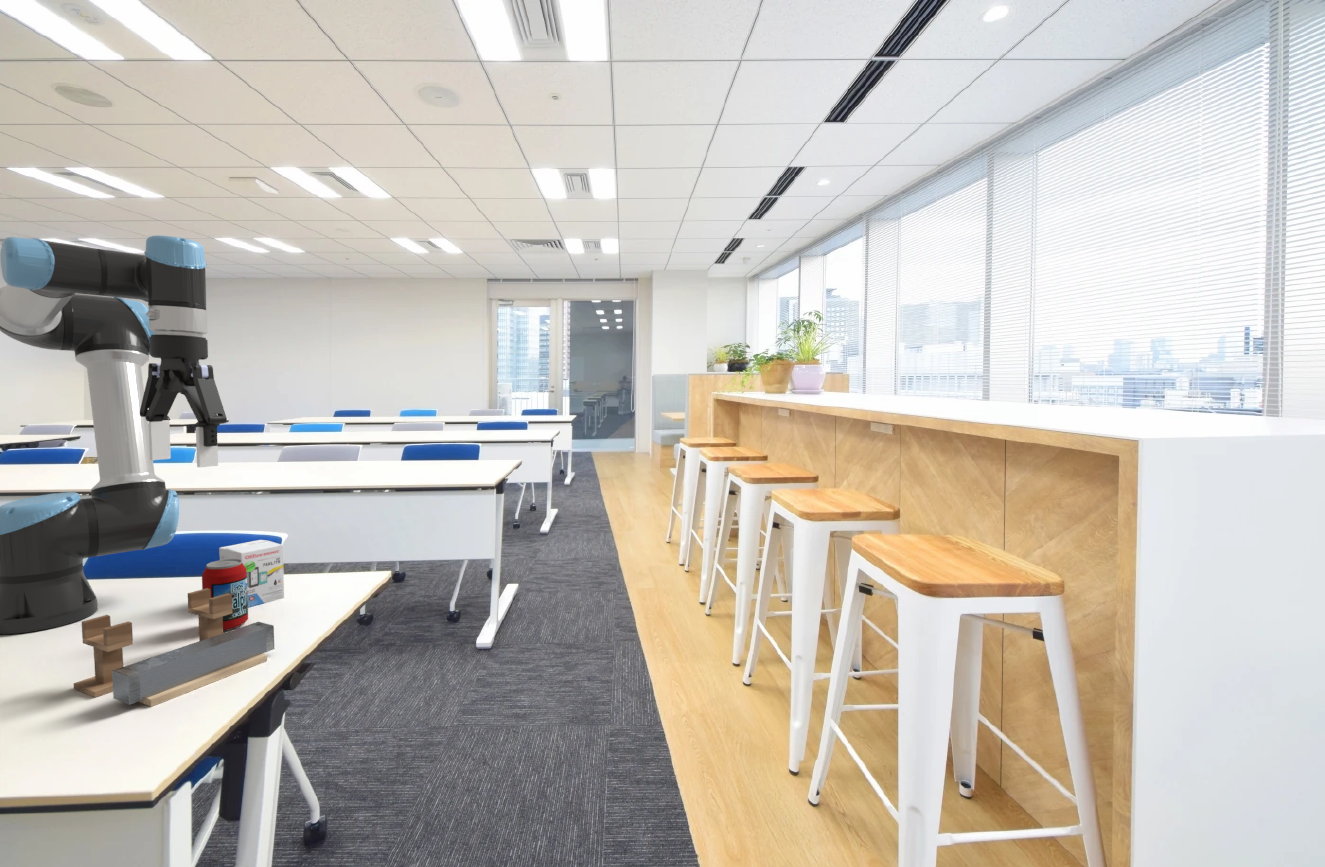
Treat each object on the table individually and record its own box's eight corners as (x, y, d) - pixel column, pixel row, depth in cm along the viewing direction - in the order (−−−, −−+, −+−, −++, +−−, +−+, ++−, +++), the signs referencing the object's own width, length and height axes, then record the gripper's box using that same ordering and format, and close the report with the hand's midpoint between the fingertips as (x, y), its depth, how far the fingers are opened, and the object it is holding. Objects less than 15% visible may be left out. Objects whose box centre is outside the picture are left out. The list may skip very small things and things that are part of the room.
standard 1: (71, 687, 89) (68, 625, 89) (121, 671, 95) (118, 611, 94) (97, 698, 87) (93, 633, 86) (146, 680, 92) (143, 619, 91)
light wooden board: (127, 697, 87) (127, 690, 87) (243, 653, 101) (243, 647, 101) (151, 706, 84) (150, 699, 84) (266, 660, 99) (266, 654, 99)
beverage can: (225, 634, 109) (222, 569, 108) (194, 631, 110) (191, 566, 110) (257, 621, 116) (255, 559, 115) (227, 618, 117) (225, 556, 116)
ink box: (241, 610, 121) (239, 552, 121) (219, 602, 126) (217, 546, 125) (285, 597, 129) (283, 543, 128) (263, 590, 133) (261, 538, 132)
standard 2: (179, 651, 102) (177, 596, 101) (218, 638, 108) (216, 585, 107) (204, 659, 99) (202, 602, 99) (243, 645, 105) (241, 591, 104)
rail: (113, 698, 85) (112, 670, 84) (259, 644, 103) (258, 621, 103) (129, 704, 83) (127, 676, 83) (274, 649, 101) (273, 625, 101)
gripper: (110, 333, 102) (115, 458, 103) (198, 332, 91) (202, 472, 93) (162, 336, 108) (166, 454, 110) (249, 336, 98) (253, 466, 100)
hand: (183, 463), depth 102 cm, fingers open, 13 cm apart
